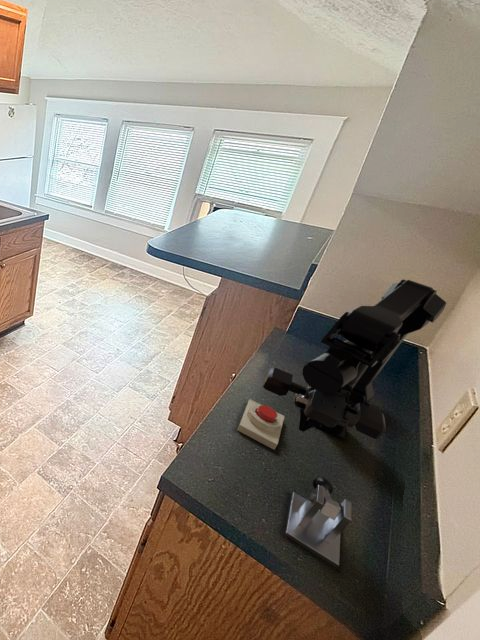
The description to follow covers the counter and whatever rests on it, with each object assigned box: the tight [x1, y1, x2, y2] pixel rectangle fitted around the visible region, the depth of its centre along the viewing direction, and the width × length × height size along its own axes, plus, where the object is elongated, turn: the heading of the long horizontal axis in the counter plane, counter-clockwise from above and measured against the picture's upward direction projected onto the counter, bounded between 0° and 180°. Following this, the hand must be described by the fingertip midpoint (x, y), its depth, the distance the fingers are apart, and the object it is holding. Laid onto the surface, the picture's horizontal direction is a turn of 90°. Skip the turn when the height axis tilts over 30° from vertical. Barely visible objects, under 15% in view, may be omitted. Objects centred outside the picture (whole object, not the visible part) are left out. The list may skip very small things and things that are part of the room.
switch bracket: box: [284, 485, 353, 569], centre depth 71 cm, size 11×8×9 cm
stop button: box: [256, 404, 278, 423], centre depth 93 cm, size 4×4×2 cm
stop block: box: [237, 398, 285, 451], centre depth 94 cm, size 12×8×4 cm, turn 139°
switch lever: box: [312, 476, 341, 520], centre depth 74 cm, size 13×3×3 cm, turn 140°
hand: (301, 429), depth 79 cm, fingers closed
